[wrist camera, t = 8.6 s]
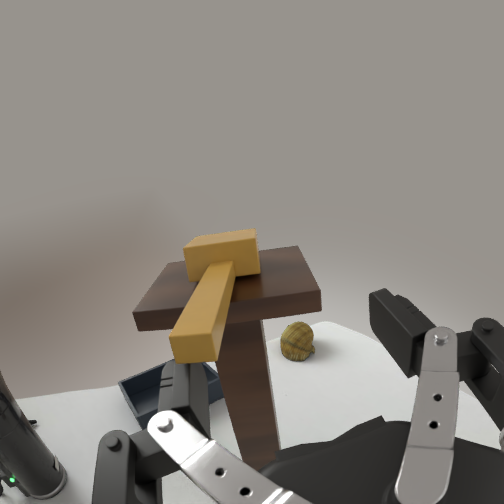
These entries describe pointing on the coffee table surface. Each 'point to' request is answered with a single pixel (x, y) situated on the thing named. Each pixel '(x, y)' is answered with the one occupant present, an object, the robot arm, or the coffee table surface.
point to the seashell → (297, 341)
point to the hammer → (211, 291)
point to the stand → (242, 337)
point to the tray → (158, 391)
